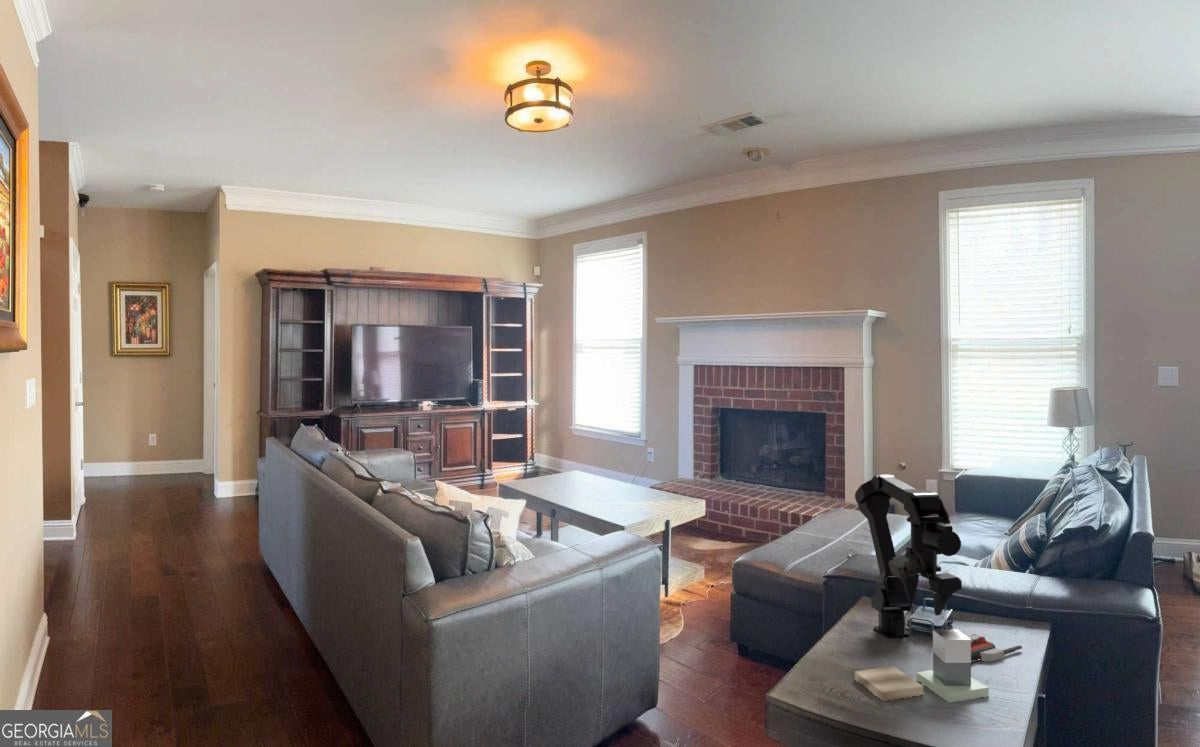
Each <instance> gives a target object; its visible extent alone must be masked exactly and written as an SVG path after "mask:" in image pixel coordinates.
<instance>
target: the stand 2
mask: <svg viewBox="0 0 1200 747" xmlns="http://www.w3.org/2000/svg"><path fill="white" fill-rule="evenodd" d="M915 673H916V680H917V681H919V682H921V683H922V684H924V685H925V686H927V687H928V688H930V689H931V690H932V691H934V692H935V693H936V694H938V695H939V696H941V697H942V698H943V699H942V698H941V697H940V698H941V699H942V700H944V701H945V700H946V701H945V702H946V703H948V704H950V703H956V702H957V703H958V702H963V701H970V700H976V699H977V698H978V699H981V698H980V697H984V698H988V697H987V696H989V697H990V695H989V694H990V693H989V690H990V689H989V686H987V685H985V684H984V683H982V682H980V681H978V680H977V679H975V678H974V677H972V676H971V686H945V685H944V684H943V683H942V682H941V681H940V680H939V679H938V678H937V677H936V676H935V675H933V669H930V670H923V671H917V672H915ZM916 680H915V681H916ZM917 681H916V682H917ZM919 682H918V683H919ZM922 684H921V685H922ZM932 691H931V692H932ZM935 693H934V694H935ZM936 694H935V695H936ZM938 695H937V696H938ZM939 696H938V697H939Z"/></svg>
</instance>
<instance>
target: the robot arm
mask: <svg viewBox="0 0 1200 747" xmlns="http://www.w3.org/2000/svg"><path fill="white" fill-rule="evenodd" d="M854 499H855V502H856V503H857V505H858V506H857V507H858V509H859V512H861V514H862V515H863V516H864V517H865V518H866V520H867V521H868V526H869V530H870V535H871V539H872V543H873V547H874V553H875V557H876V560H877V561H876V562H877V566H878V571H879V575H878V577H877V581H876V584H875V586H876V591H875V592H874V593H873V595H872V596H871V597H870V604H871V606H872V607H871V608H873V609H875V611H877V612H878V625H875V626H873V630H875V631H876V632H878V633H879V634H880V635H881V634H882V635H883V636H884V637H887V638H898V637H904V635H907V636H910V633H909V632H908V631H906V630H905V629H906V628H905V627H906V626H905V624H906V622H905V621H906V619H905V612H912V608H913V603H914V601H915V598H916V594H917V593H916V592H917V588H918V584H919V579H920V577H922V578H925V579H927V580H928V584H929V587H928V588H927V589H928V590H929V591H930V592H931V593H932V598H933V610H934V611H933V612H934V616H940V615H941V614H942V612H943V611H944V609H945V607H946V605H947V604H948V601H949V600H950V599H951V597H952V595H953V594H954V593H956V592H958V591H961V590H962V588H963V584H962V583H963V581H962V579H961V578H960V577H958V576H956V575H954V574H951V573H949V572H945V573H938V572H942V567H941V566H939V565H938V556H939V555H944V556H945V557H952V556H954V555H956V554H957V553H959V551H960V550H961V547H962V541H961V539H960V536H959V535H958V533H956V532H955V531H953V529H954V528H953V526H952V525H950V524H951V521H950V518H949V517H950V515H949V513H948V511H947V509H946V508H945V505H944V503H943V500H942V498H941V497H940V494H938V493H937V492H935V491H931V490H925V489H917V488H915V487H912V485H909V484H907V483H905V482H903V481H902V480H900V479H898V478H896V477H895V475H894V474H891V473H888V474H886V473H885V474H876V475H873V477H872V478H871V479H869V480H868V481H866V482H864V483H862V484H861V485H860V486H859V487H858V488H857V490H856V491H855V493H854ZM892 499H895V500H896V501H898V502H900V503H901V504H903V511H904V510H905V512H906V513H907V514H908V515H909V516H907V518H906V522H907V523H910V546H907V547H906V549H905V553H904V554H902V555H901V554H900V555H898V556H897V554H896V551H895V547H894V542H893V539H892V534H891V530H890V524H889V522H888V518H887V517H888V513H889V511H890V508H891V500H892Z"/></svg>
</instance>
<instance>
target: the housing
mask: <svg viewBox="0 0 1200 747" xmlns="http://www.w3.org/2000/svg"><path fill="white" fill-rule="evenodd" d="M967 636H968V635H966V634H964V633H963V632H962V631H960V630H959V629H933V630H932V670H933V675H935V676H936V677H937V678H938V679H939V680H940V681H941V682H942V683H943V684H944V685H945V686H971V677H972V662H971V639H969V638H968V637H967Z"/></svg>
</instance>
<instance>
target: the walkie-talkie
mask: <svg viewBox="0 0 1200 747" xmlns="http://www.w3.org/2000/svg"><path fill="white" fill-rule="evenodd" d="M966 636H967V637H968V638H969V639H971V661H973V660H978V659H980V660H985V661H984V662H986V661H993V662H996V661H1000V660H1003V659H1004V658H1005V655H1008V654H1011V653H1014V652H1016V651H1018V650H1021V649H1023V646H1022V645H1015V646H1012V647H1009V648H1005V649H999V648H997V647H996V645H995V643H992V642H990V641H988V640H986V637H984V636H982V635H979V634H977V633H974V634H969V635H966ZM999 659H1000V660H999ZM980 660H979V661H980ZM995 660H996V661H995Z"/></svg>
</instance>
